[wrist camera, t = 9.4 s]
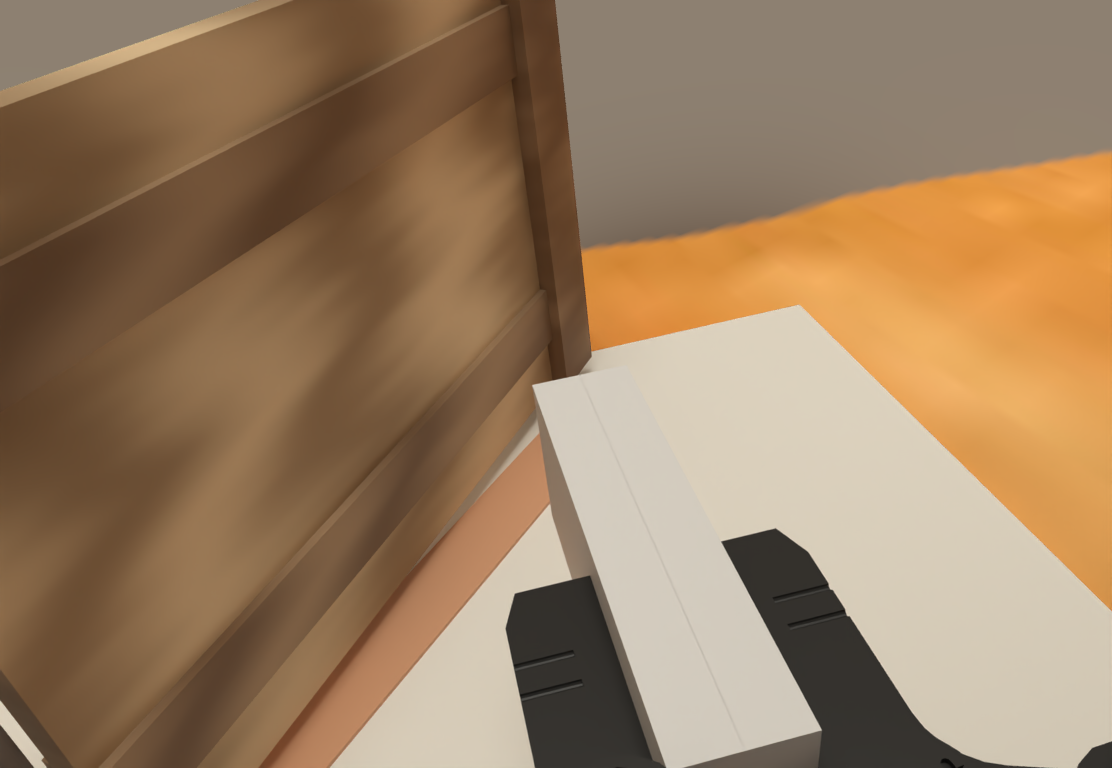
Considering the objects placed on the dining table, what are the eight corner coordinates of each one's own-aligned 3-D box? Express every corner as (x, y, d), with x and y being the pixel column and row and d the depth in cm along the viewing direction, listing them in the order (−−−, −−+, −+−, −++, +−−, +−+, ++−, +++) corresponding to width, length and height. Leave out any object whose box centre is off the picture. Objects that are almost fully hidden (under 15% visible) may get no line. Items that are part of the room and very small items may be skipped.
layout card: (798, 314, 30) (799, 302, 30) (1390, 909, 14) (1405, 893, 13) (-360, 579, 25) (-372, 567, 25) (-1599, 1995, 9) (-1676, 2007, 8)
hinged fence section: (105, 1007, 14) (-766, 117, 6) (30, 958, 14) (-832, 108, 6) (591, 356, 27) (537, -167, 19) (540, 348, 28) (468, -160, 20)
